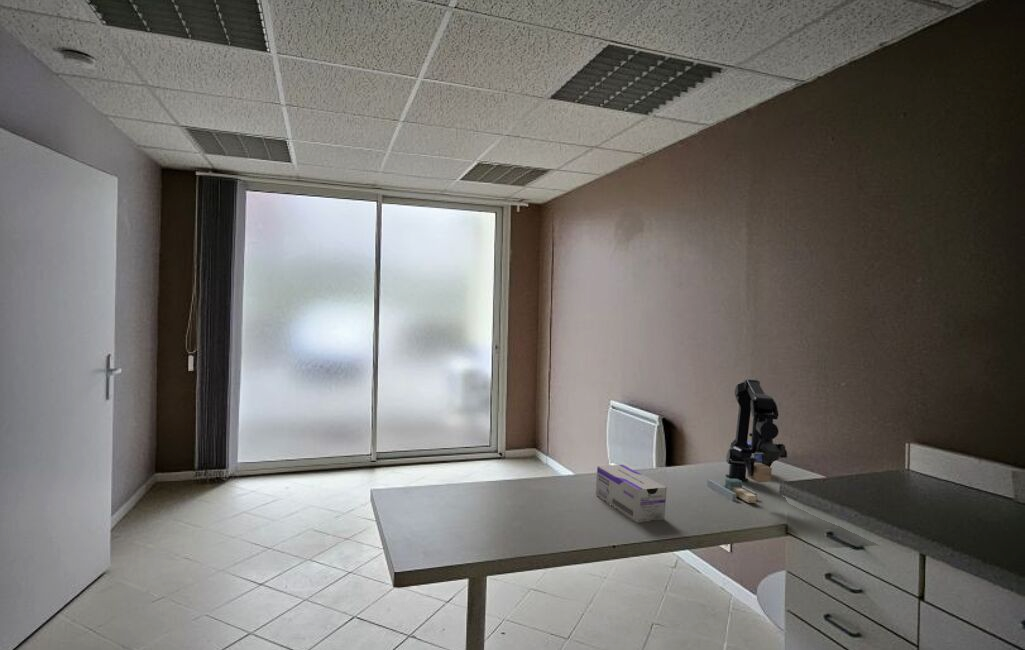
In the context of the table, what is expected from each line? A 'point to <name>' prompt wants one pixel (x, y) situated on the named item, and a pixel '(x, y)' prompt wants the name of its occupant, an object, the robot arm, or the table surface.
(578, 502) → the table surface
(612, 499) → the surgical sutures box
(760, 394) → the robot arm
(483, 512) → the table surface
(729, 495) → the channel
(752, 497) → the push rod
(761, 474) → the block
